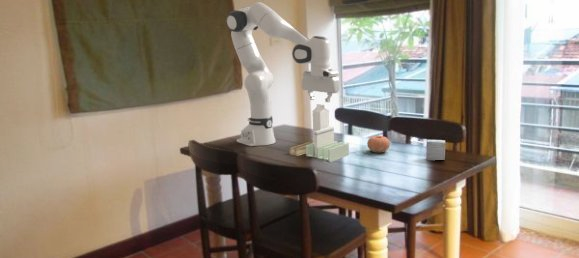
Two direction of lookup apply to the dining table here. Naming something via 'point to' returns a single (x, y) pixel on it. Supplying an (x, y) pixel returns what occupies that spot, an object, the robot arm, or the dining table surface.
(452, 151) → the dining table surface
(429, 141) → the medicine box
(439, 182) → the dining table surface
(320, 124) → the milk
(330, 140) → the plate
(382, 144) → the orange rounded piece
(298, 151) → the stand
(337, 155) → the rack
